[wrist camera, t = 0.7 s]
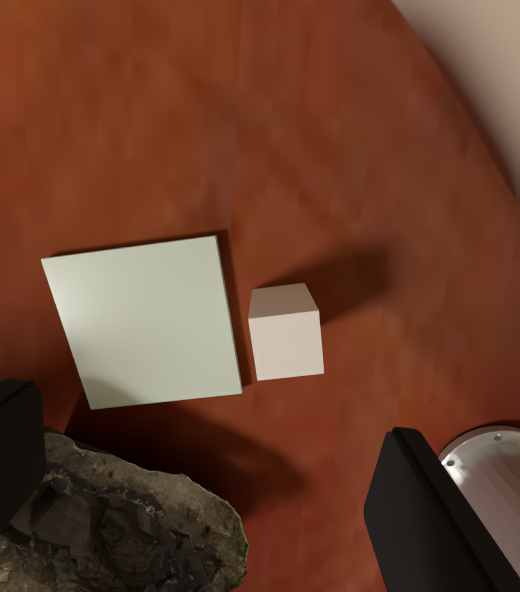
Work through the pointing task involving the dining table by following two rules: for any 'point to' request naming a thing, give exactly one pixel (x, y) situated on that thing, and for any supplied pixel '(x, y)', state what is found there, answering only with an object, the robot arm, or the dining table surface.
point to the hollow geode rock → (119, 529)
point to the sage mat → (147, 322)
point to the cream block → (285, 332)
